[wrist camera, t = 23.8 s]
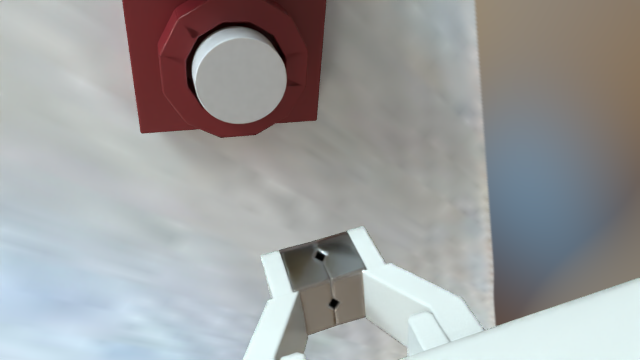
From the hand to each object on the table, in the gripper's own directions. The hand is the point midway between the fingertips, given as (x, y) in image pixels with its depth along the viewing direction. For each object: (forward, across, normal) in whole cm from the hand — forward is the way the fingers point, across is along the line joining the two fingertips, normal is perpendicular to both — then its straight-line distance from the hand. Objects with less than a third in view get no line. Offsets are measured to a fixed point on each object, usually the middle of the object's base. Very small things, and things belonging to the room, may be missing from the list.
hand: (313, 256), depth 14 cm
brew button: (+14, 0, 0) cm, 14 cm away
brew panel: (+18, 0, 0) cm, 18 cm away
